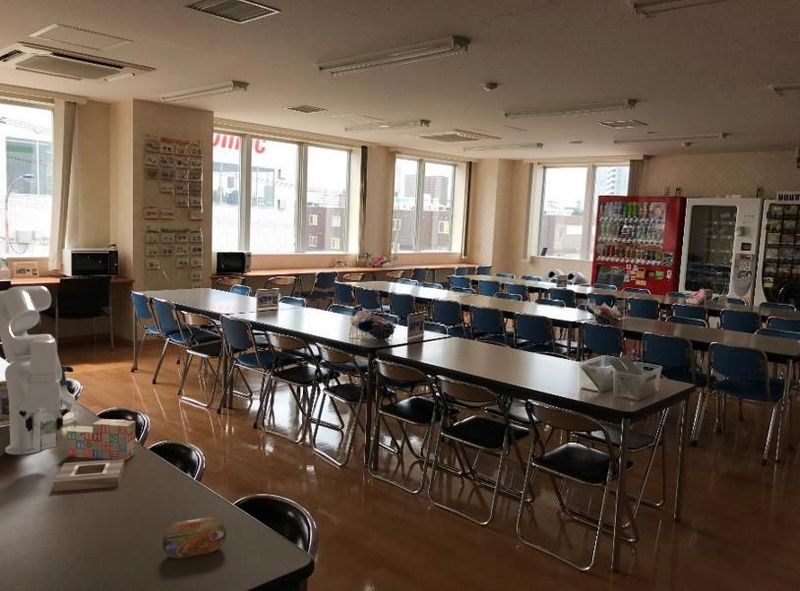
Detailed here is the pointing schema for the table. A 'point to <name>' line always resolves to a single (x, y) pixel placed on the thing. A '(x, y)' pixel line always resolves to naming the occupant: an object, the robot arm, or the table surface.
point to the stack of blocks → (103, 440)
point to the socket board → (89, 475)
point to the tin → (193, 537)
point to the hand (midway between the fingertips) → (44, 429)
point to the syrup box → (44, 429)
